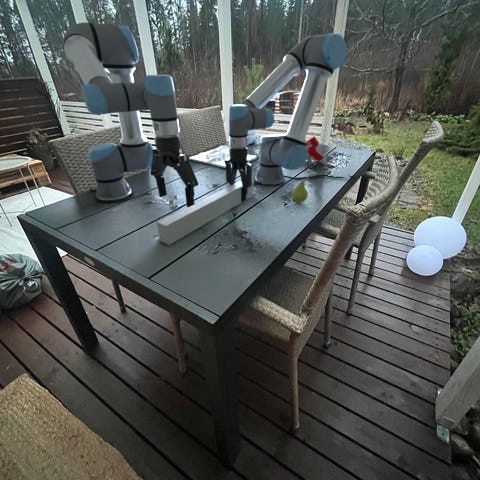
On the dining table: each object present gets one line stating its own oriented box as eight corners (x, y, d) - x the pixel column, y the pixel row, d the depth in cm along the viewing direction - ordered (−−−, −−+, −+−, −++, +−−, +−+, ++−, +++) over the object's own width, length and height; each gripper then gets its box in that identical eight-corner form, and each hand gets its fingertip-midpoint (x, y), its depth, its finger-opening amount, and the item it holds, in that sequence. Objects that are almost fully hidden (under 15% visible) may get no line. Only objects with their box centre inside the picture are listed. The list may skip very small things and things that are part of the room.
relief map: (230, 169, 160) (230, 160, 157) (189, 159, 178) (188, 151, 175) (256, 158, 178) (256, 150, 176) (216, 150, 196) (216, 143, 193)
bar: (244, 193, 130) (244, 178, 126) (252, 195, 128) (253, 180, 124) (160, 240, 95) (156, 221, 91) (169, 245, 93) (165, 226, 89)
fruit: (288, 200, 123) (290, 174, 116) (302, 197, 125) (305, 172, 119) (296, 206, 118) (299, 179, 111) (310, 203, 120) (314, 177, 114)
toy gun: (327, 156, 170) (314, 135, 166) (326, 157, 167) (314, 136, 163) (301, 171, 180) (289, 151, 176) (301, 173, 177) (288, 153, 173)
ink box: (251, 141, 219) (251, 125, 213) (255, 142, 216) (255, 126, 210) (243, 143, 214) (243, 127, 208) (248, 144, 211) (248, 128, 205)
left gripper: (130, 132, 85) (144, 195, 96) (187, 143, 72) (195, 214, 84) (150, 128, 90) (161, 189, 101) (206, 138, 77) (211, 205, 89)
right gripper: (215, 145, 113) (218, 197, 125) (251, 152, 104) (250, 207, 116) (227, 142, 118) (228, 192, 130) (261, 148, 109) (259, 201, 121)
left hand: (176, 200), depth 92 cm, fingers open, 13 cm apart
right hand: (238, 199), depth 123 cm, fingers closed on bar, 5 cm apart
